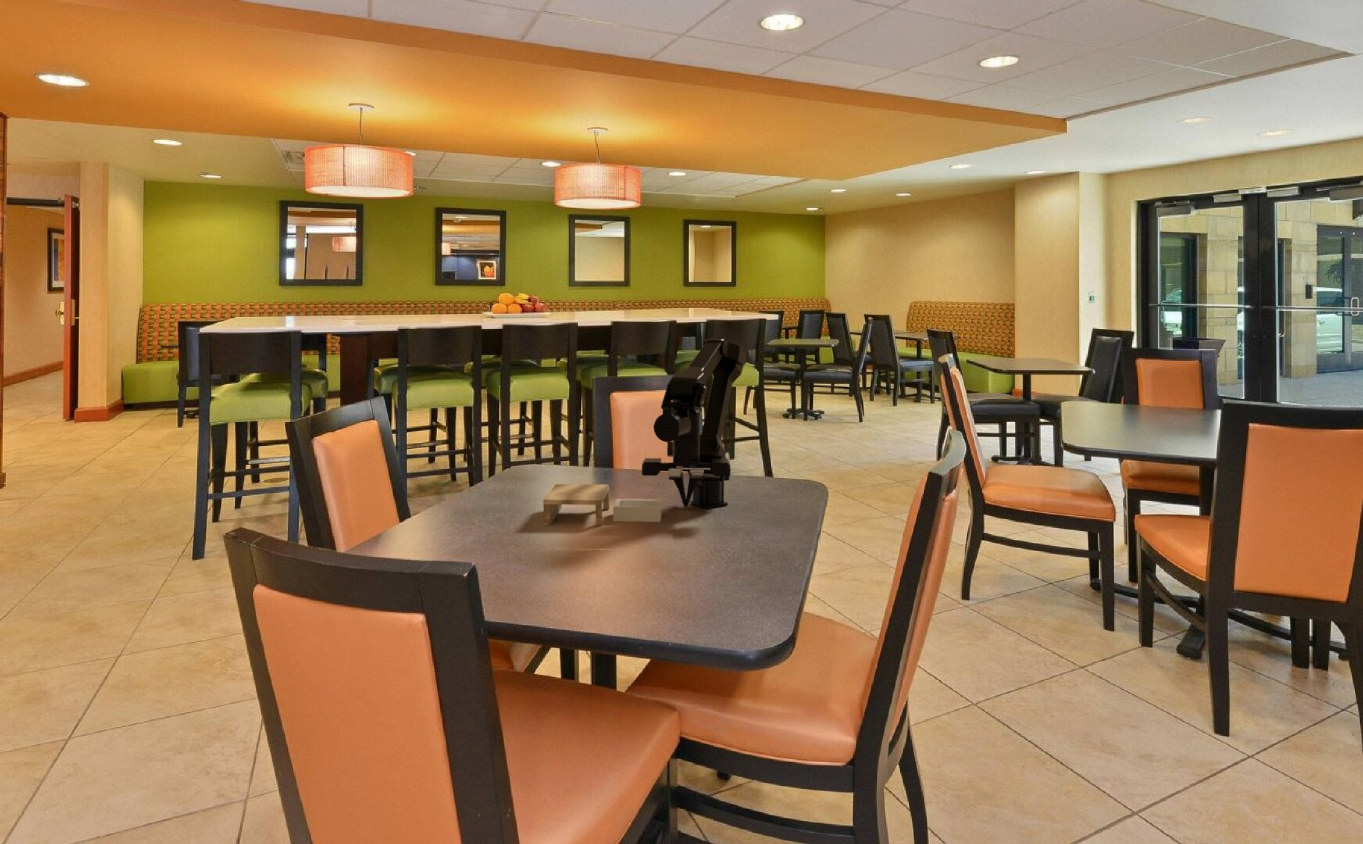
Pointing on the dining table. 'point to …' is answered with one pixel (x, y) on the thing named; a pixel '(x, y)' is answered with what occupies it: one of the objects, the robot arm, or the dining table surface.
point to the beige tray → (637, 510)
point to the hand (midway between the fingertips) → (685, 506)
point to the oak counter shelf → (575, 499)
